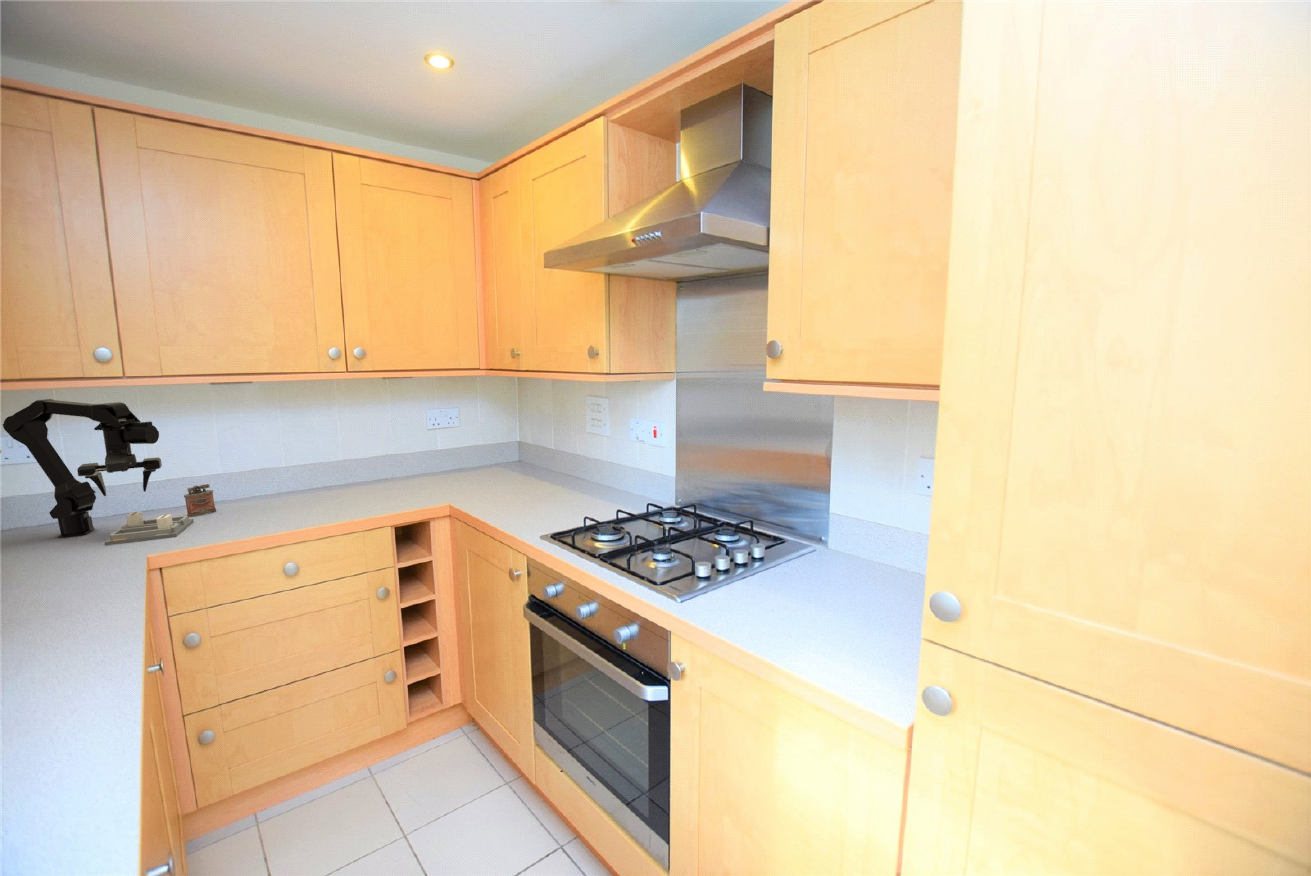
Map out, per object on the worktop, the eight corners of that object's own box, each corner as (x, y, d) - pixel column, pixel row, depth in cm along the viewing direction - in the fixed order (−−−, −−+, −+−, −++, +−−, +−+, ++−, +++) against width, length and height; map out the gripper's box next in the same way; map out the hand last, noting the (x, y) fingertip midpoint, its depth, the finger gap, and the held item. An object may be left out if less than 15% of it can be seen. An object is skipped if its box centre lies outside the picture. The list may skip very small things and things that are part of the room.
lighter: (189, 517, 197) (184, 488, 195) (186, 515, 199) (181, 487, 197) (217, 511, 203) (213, 483, 202) (214, 510, 205) (209, 482, 204)
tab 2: (158, 533, 177) (156, 518, 177) (163, 529, 181) (161, 514, 180) (169, 532, 178) (166, 517, 178) (173, 528, 182) (171, 513, 181)
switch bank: (104, 545, 171) (103, 537, 171) (128, 529, 186) (127, 521, 185) (176, 536, 178) (175, 528, 177) (194, 521, 192) (192, 514, 192)
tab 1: (128, 530, 181) (125, 515, 180) (134, 526, 185) (131, 512, 184) (138, 529, 182) (136, 514, 181) (144, 525, 186) (141, 510, 185)
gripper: (69, 451, 168) (78, 504, 170) (154, 445, 178) (161, 494, 181) (77, 445, 176) (86, 496, 179) (158, 439, 187) (165, 487, 190)
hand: (125, 493), depth 182 cm, fingers open, 9 cm apart
